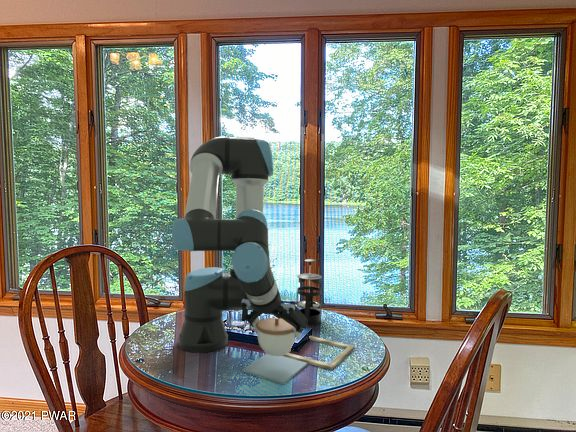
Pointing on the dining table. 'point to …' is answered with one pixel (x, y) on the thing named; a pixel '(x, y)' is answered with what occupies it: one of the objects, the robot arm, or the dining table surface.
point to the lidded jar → (275, 336)
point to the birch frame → (321, 364)
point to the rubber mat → (275, 368)
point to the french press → (310, 297)
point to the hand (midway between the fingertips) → (279, 332)
